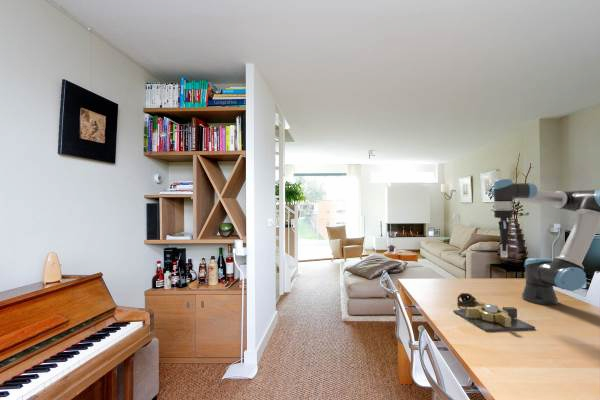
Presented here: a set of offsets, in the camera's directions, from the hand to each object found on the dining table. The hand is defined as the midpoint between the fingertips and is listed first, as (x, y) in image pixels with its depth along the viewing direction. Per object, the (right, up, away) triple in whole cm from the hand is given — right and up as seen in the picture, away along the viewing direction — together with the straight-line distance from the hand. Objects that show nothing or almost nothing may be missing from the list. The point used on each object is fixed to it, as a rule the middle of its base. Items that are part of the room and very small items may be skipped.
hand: (504, 257), depth 144 cm
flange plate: (-15, -26, -13) cm, 33 cm away
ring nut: (-15, -25, -13) cm, 32 cm away
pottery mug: (-16, -27, +4) cm, 32 cm away
